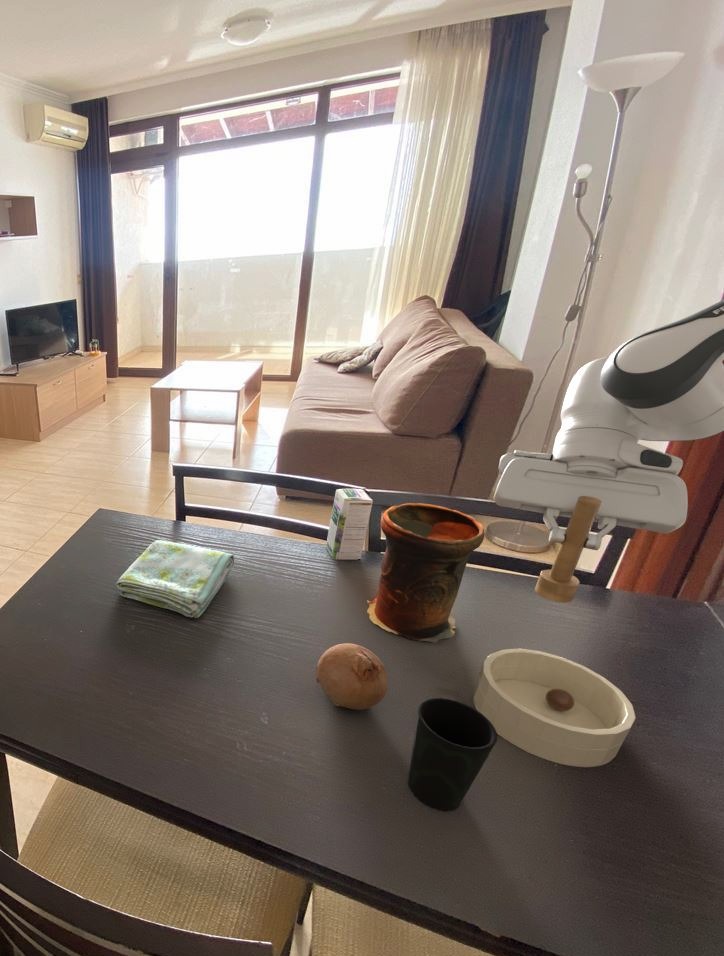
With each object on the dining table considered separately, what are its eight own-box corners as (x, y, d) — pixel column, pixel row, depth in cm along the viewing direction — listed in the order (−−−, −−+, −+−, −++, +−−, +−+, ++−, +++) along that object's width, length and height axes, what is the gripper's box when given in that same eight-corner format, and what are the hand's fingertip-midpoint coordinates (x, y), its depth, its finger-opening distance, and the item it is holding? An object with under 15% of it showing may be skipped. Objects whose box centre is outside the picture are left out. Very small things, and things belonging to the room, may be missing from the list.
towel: (112, 597, 110) (112, 576, 108) (157, 550, 125) (157, 530, 123) (198, 625, 100) (199, 603, 98) (235, 570, 115) (237, 549, 113)
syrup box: (324, 546, 121) (334, 488, 115) (352, 546, 120) (363, 488, 114) (332, 560, 116) (343, 499, 110) (362, 560, 115) (374, 499, 109)
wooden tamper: (564, 587, 83) (601, 493, 76) (578, 604, 79) (619, 507, 72) (529, 584, 84) (562, 491, 77) (542, 600, 80) (578, 505, 74)
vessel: (404, 586, 106) (426, 495, 97) (476, 629, 93) (508, 529, 85) (345, 605, 102) (362, 511, 94) (412, 652, 90) (439, 549, 81)
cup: (391, 794, 68) (410, 725, 63) (406, 754, 73) (425, 687, 68) (464, 832, 63) (492, 762, 58) (476, 787, 68) (502, 718, 63)
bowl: (581, 689, 80) (595, 658, 78) (645, 779, 67) (665, 745, 65) (458, 671, 85) (468, 641, 83) (496, 752, 72) (508, 720, 69)
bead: (572, 702, 77) (570, 685, 76) (577, 716, 75) (576, 699, 74) (544, 700, 79) (542, 683, 78) (549, 714, 76) (547, 697, 76)
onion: (366, 728, 80) (402, 707, 73) (302, 703, 82) (331, 679, 75) (369, 671, 86) (403, 646, 78) (309, 649, 88) (337, 622, 80)
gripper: (506, 440, 83) (487, 521, 81) (700, 461, 72) (685, 557, 69) (499, 457, 88) (480, 534, 86) (679, 480, 77) (664, 570, 74)
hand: (573, 544), depth 77 cm, fingers closed on wooden tamper, 2 cm apart
